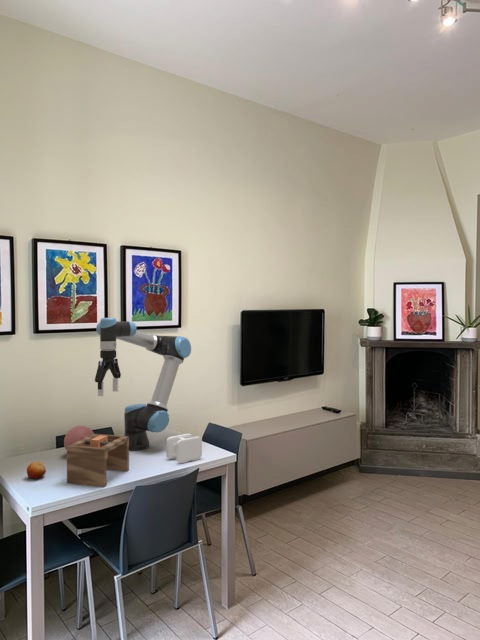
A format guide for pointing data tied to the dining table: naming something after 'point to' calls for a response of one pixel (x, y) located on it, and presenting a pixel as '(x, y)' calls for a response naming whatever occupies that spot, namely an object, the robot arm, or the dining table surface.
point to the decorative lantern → (77, 435)
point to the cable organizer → (184, 448)
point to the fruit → (35, 470)
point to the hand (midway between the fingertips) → (108, 393)
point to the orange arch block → (97, 440)
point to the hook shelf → (96, 460)
